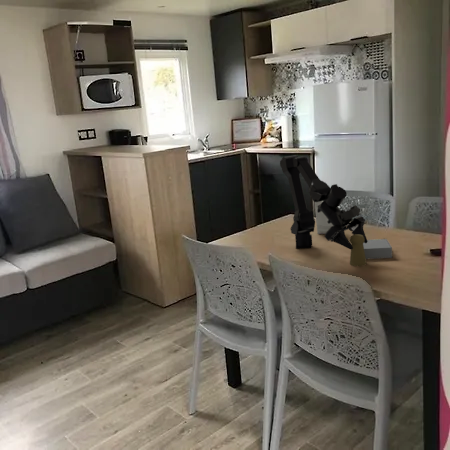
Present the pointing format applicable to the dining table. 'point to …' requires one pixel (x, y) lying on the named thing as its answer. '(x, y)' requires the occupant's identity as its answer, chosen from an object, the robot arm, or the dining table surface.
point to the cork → (357, 250)
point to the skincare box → (321, 220)
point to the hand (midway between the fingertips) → (359, 245)
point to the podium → (377, 249)
